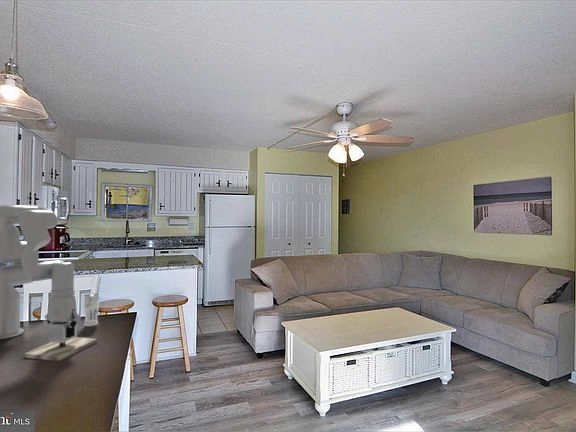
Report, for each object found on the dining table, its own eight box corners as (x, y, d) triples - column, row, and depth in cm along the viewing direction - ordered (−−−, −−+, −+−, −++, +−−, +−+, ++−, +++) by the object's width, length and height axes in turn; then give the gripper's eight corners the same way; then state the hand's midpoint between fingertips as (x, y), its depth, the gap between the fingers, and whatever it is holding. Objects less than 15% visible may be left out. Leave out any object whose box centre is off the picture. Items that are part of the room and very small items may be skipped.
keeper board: (23, 357, 128) (23, 336, 128) (64, 339, 147) (65, 321, 147) (59, 360, 126) (59, 339, 126) (96, 342, 144) (97, 323, 144)
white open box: (47, 341, 134) (47, 324, 134) (62, 335, 140) (62, 318, 140) (62, 342, 132) (62, 325, 132) (77, 336, 139) (77, 319, 139)
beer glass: (86, 328, 163) (87, 297, 163) (80, 325, 167) (81, 295, 167) (101, 324, 168) (102, 294, 168) (95, 321, 172) (95, 292, 172)
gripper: (36, 293, 134) (36, 338, 134) (73, 295, 131) (73, 341, 131) (52, 289, 142) (52, 331, 142) (88, 291, 139) (88, 334, 138)
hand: (62, 335), depth 136 cm, fingers closed on white open box, 7 cm apart
